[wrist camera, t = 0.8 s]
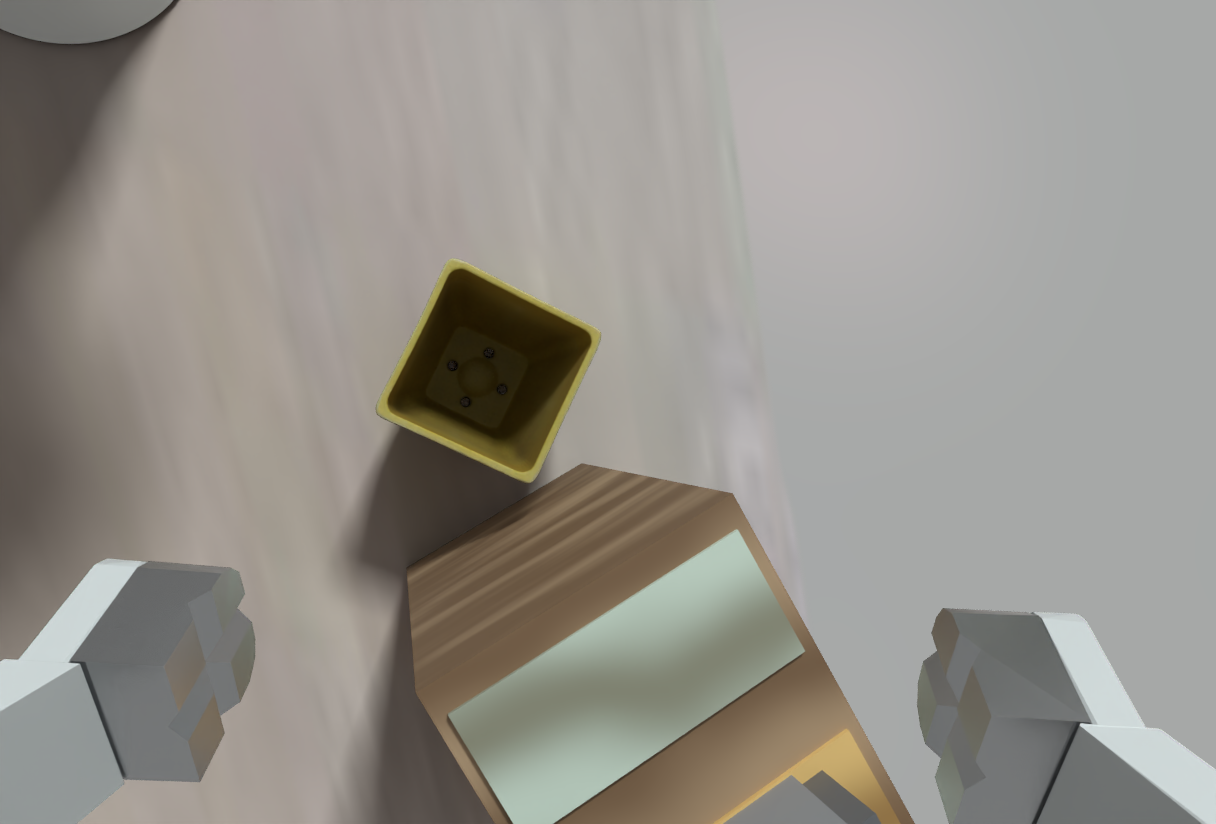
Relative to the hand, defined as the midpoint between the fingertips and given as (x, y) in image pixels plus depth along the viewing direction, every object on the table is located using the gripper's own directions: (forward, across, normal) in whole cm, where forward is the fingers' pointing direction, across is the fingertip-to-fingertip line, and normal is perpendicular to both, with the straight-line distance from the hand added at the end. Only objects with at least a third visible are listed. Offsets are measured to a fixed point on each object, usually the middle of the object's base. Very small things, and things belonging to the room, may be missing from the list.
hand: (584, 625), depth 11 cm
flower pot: (+40, +9, +20) cm, 45 cm away
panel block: (+33, +4, +32) cm, 46 cm away
